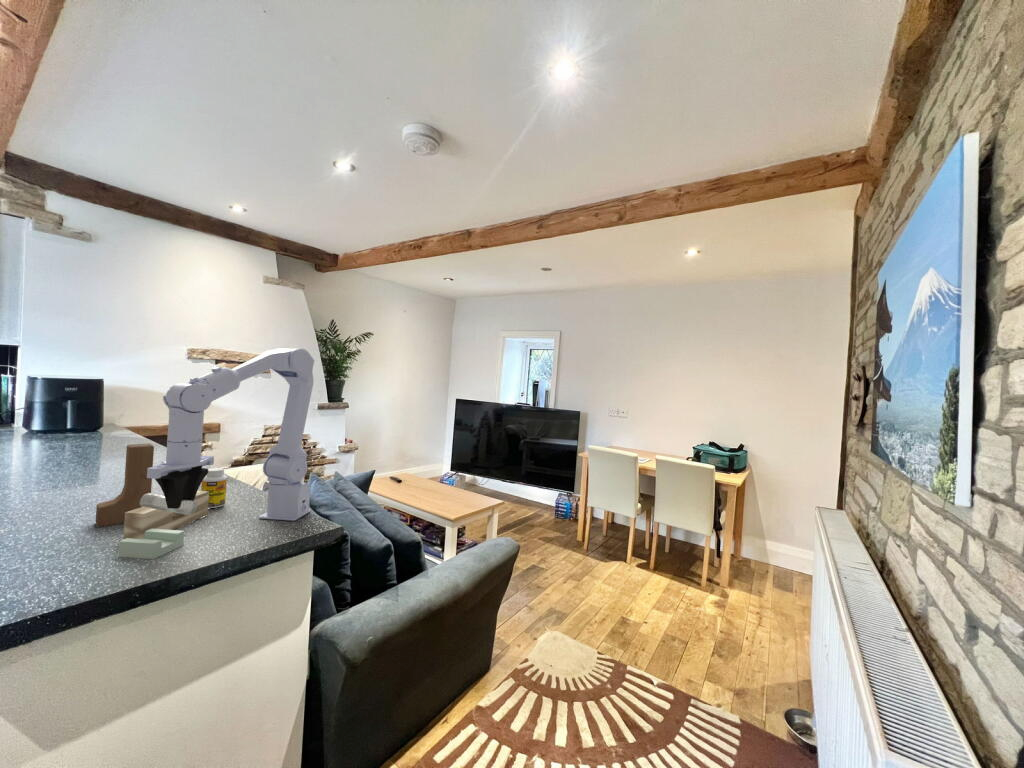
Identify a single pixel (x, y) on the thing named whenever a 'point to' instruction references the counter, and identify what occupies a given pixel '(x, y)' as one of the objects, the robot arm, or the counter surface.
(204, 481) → the supplement bottle
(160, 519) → the beam
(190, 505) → the axle
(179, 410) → the robot arm
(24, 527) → the counter surface
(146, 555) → the v block
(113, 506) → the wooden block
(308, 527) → the counter surface
